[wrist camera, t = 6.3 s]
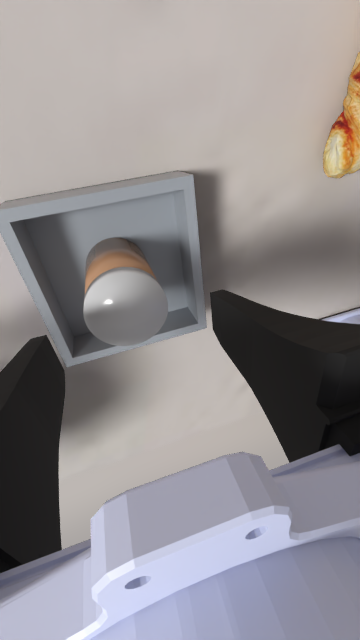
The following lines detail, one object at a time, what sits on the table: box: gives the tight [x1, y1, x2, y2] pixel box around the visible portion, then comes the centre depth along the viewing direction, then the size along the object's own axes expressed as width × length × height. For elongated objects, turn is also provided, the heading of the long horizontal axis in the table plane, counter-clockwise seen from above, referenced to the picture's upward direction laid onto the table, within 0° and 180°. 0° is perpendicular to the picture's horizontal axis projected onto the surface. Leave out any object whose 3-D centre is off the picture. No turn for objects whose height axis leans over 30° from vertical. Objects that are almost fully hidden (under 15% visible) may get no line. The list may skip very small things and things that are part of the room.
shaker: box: [83, 237, 168, 346], centre depth 16 cm, size 4×4×6 cm
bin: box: [0, 171, 207, 367], centre depth 18 cm, size 10×10×3 cm
